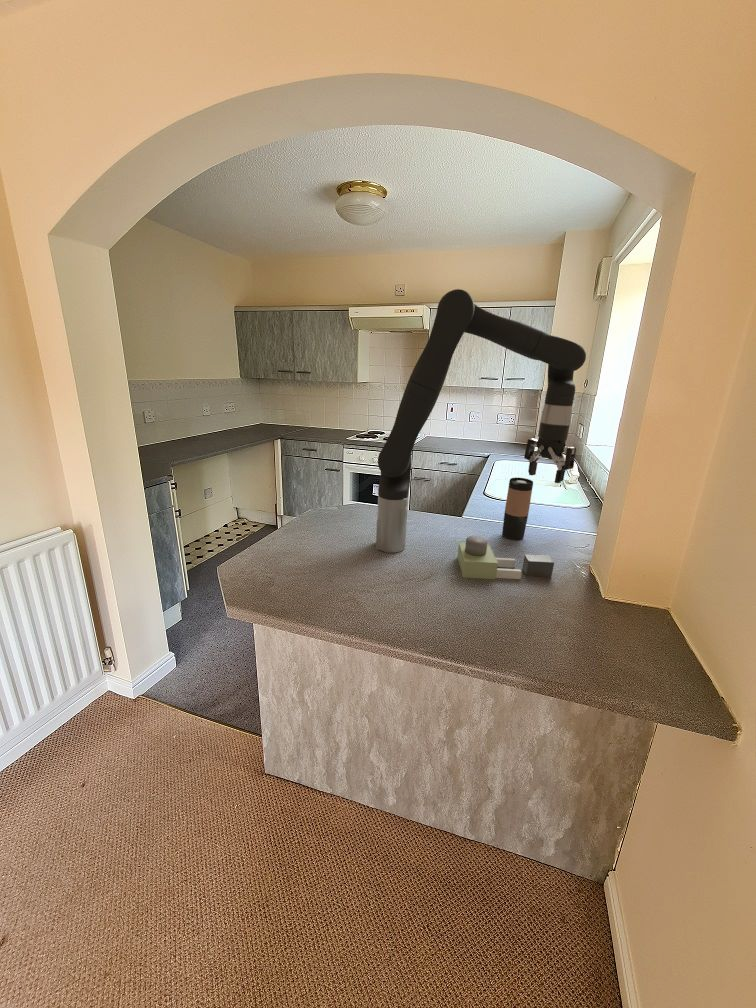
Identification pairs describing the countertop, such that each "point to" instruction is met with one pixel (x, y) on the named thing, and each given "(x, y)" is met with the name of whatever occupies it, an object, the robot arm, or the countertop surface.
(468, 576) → the two-prong plug
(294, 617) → the countertop surface
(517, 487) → the travel mug
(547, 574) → the dark grey box
